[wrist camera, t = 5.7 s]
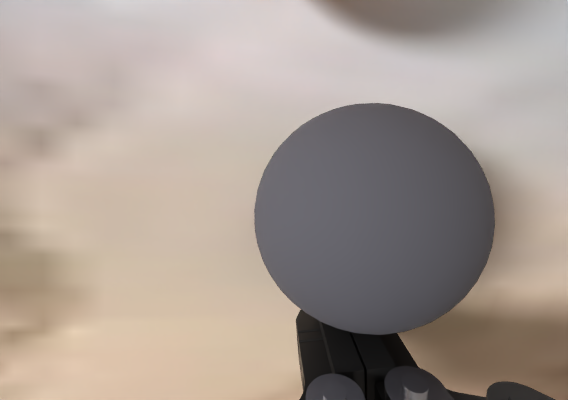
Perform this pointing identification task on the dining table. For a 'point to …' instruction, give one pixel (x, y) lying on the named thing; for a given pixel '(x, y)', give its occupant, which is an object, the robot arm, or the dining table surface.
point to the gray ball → (374, 218)
